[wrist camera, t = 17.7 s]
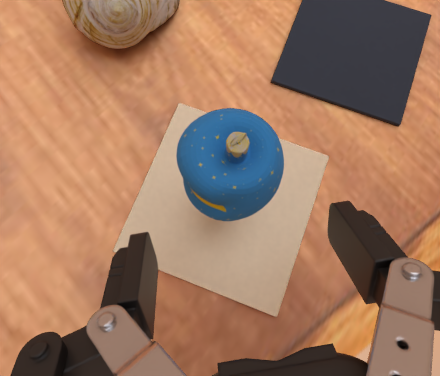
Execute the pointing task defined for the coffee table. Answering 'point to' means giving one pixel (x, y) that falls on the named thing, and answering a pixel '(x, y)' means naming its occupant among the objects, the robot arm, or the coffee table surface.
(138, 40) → the seashell
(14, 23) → the coffee table surface
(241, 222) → the cream mat
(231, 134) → the ornament
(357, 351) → the coffee table surface
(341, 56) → the slate mat
